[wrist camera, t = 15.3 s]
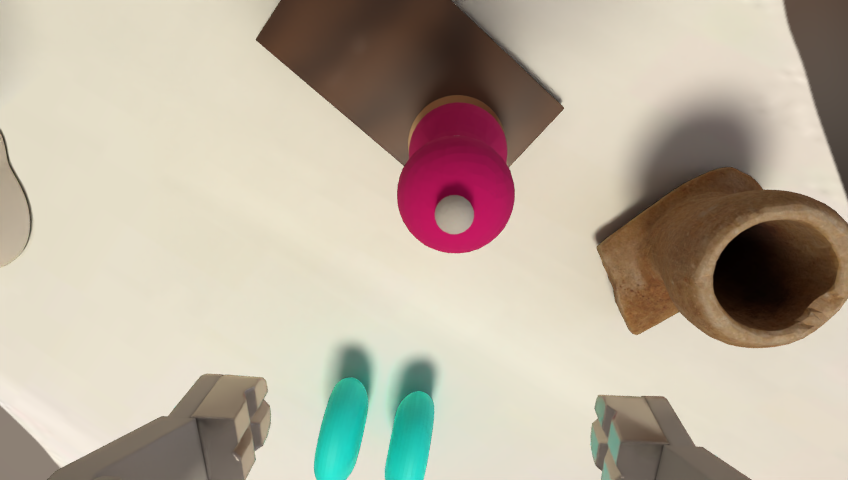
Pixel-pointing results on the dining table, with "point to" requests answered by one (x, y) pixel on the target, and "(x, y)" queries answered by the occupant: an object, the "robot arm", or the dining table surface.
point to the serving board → (405, 67)
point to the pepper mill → (456, 179)
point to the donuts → (347, 430)
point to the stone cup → (731, 261)
